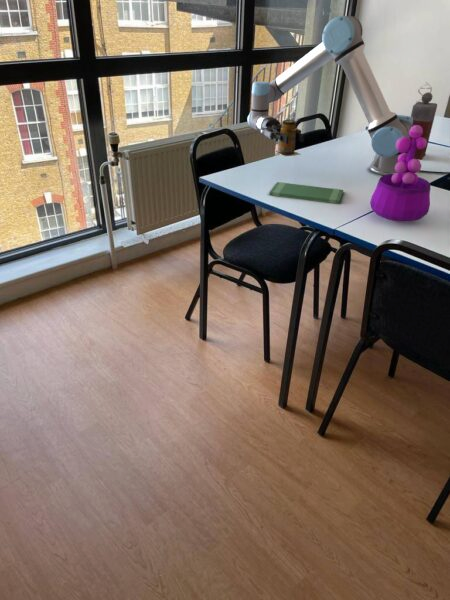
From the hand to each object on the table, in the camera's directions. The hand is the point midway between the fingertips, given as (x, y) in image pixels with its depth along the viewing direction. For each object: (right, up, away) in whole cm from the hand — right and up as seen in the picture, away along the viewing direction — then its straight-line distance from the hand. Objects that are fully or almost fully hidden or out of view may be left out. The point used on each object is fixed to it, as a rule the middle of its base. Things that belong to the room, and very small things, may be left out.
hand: (295, 139), depth 174 cm
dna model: (+68, +16, +58) cm, 90 cm away
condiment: (-2, -3, +8) cm, 8 cm away
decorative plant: (+32, -33, -18) cm, 49 cm away
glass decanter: (+64, +8, +45) cm, 79 cm away
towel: (+4, -21, 0) cm, 21 cm away
